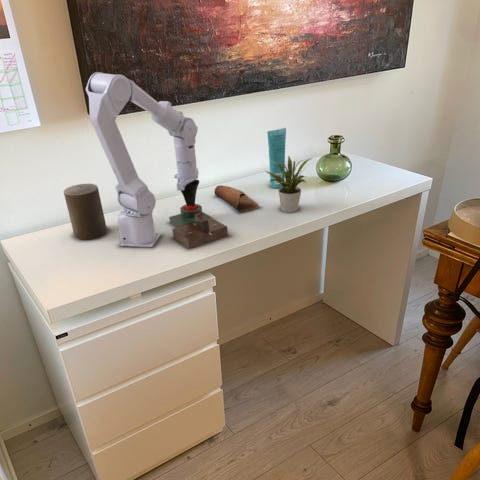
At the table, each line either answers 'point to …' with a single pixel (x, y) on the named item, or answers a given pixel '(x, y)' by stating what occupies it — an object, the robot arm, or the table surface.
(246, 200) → the sunglasses case
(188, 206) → the button
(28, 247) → the table surface
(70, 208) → the pillar candle
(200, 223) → the dark grey red block
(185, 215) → the button box
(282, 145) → the tube
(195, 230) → the console
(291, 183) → the house plant
